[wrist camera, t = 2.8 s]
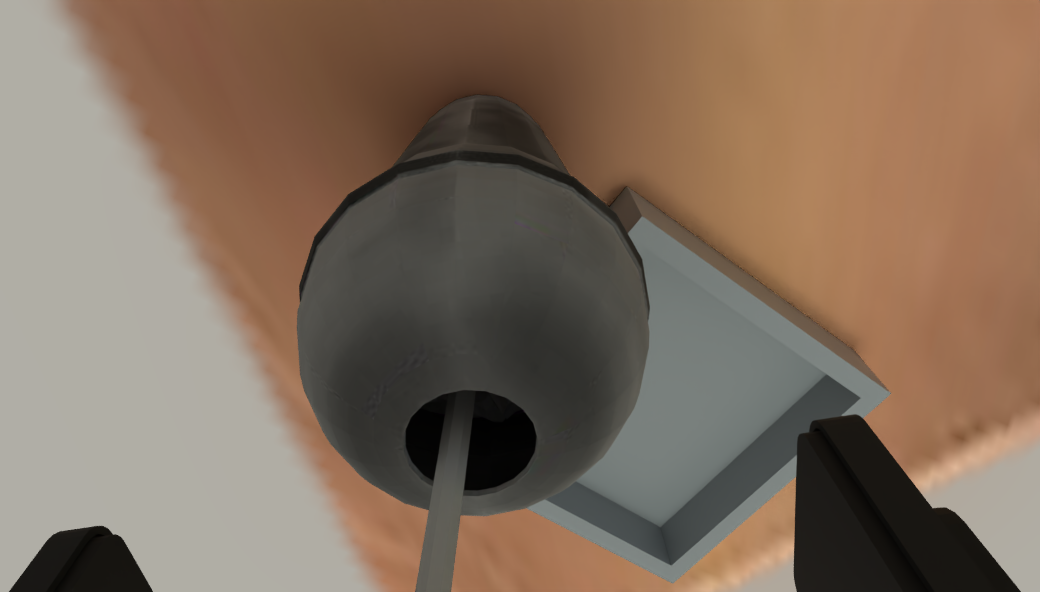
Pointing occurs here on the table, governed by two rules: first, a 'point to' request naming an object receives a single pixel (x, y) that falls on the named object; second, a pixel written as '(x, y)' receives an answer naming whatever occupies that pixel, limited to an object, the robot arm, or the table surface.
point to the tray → (707, 405)
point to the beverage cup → (472, 324)
